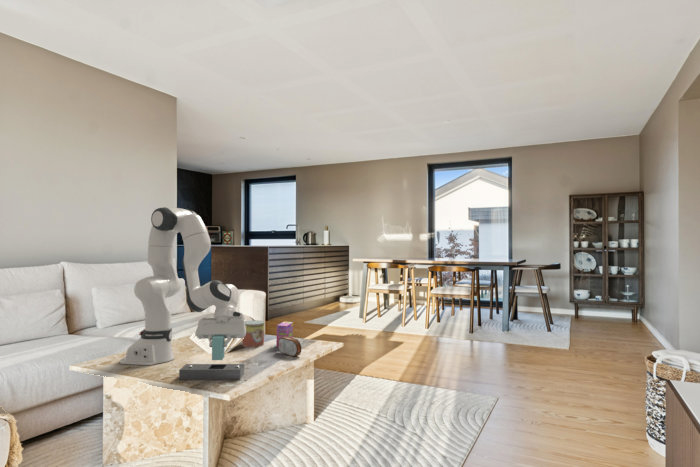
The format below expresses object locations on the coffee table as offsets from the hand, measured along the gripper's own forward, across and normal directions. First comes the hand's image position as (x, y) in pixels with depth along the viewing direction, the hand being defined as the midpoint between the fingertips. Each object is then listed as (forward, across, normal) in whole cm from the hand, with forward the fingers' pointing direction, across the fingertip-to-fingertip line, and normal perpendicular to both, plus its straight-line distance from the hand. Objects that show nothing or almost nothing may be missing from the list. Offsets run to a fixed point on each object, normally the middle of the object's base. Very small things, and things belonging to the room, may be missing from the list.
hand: (217, 346), depth 172 cm
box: (-28, +22, +46) cm, 58 cm away
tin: (-15, +26, +33) cm, 44 cm away
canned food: (-29, +4, +47) cm, 55 cm away
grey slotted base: (+8, -2, +9) cm, 13 cm away
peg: (+3, 0, +4) cm, 5 cm away
